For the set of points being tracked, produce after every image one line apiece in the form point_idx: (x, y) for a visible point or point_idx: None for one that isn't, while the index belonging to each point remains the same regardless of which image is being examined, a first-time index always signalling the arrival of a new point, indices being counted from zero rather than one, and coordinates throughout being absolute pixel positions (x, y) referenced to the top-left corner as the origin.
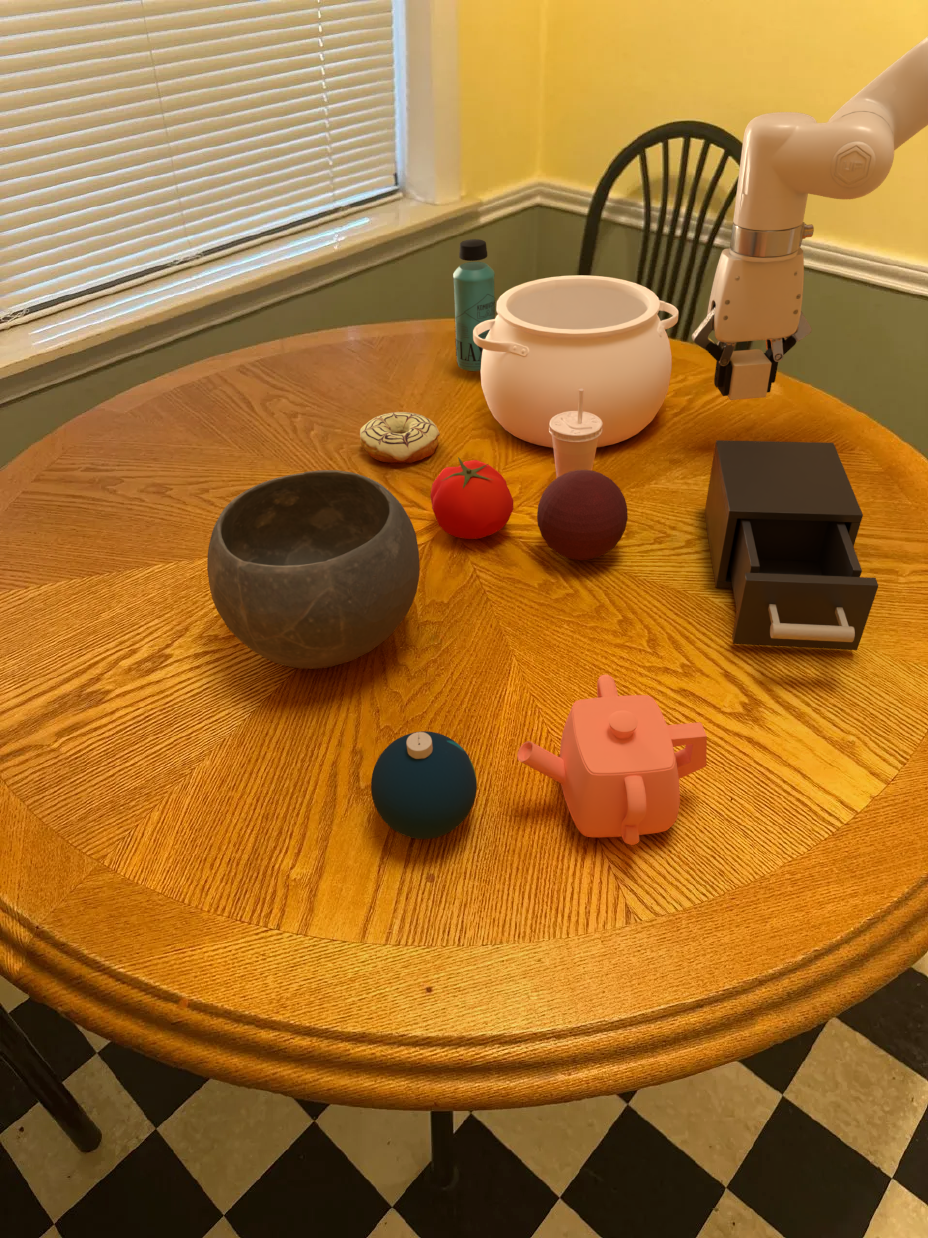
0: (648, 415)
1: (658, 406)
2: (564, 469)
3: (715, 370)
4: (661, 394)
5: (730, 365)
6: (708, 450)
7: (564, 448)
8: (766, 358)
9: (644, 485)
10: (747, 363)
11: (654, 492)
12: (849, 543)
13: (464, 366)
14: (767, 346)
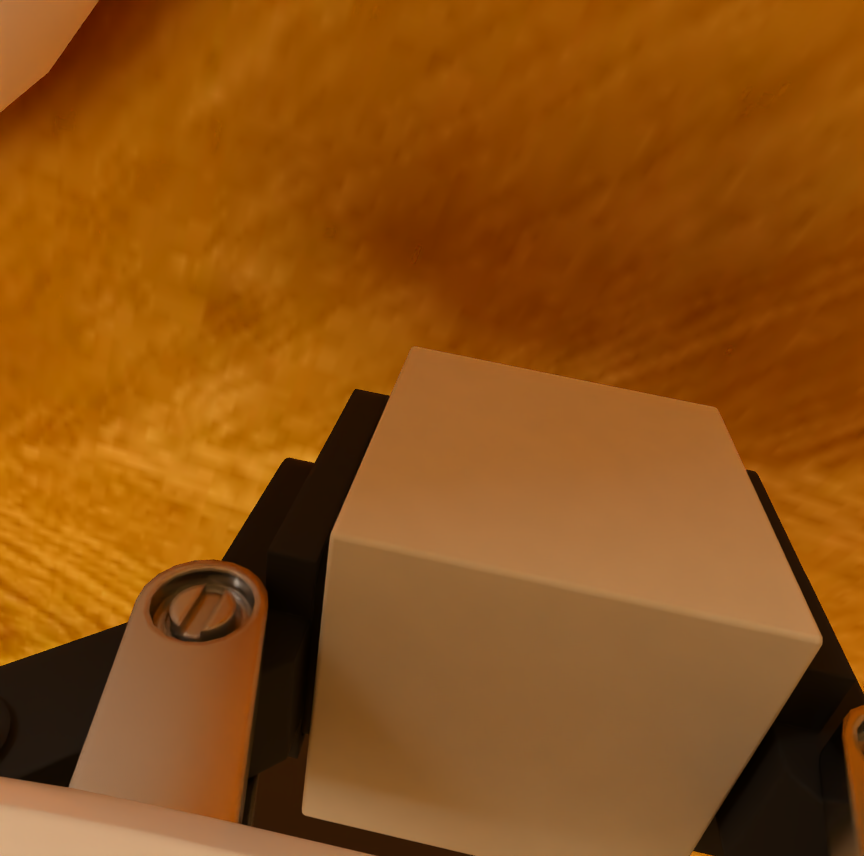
0: (20, 93)
1: (85, 5)
2: None
3: (251, 515)
4: (34, 19)
5: (294, 740)
6: (421, 265)
7: None
8: (685, 833)
9: (77, 439)
10: (438, 824)
11: (108, 489)
12: None
13: None
14: (827, 829)
